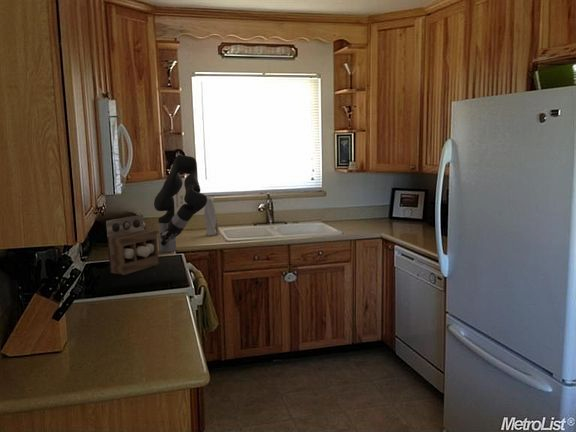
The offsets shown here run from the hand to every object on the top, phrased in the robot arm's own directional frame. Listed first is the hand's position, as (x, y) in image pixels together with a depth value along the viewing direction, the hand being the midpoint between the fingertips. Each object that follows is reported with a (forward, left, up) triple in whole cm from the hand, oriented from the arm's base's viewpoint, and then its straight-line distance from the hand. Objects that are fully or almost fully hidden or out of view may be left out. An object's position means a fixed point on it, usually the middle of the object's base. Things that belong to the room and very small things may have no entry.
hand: (162, 244), depth 251 cm
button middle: (-8, -7, -5) cm, 12 cm away
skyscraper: (-40, +84, -12) cm, 94 cm away
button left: (-12, -14, -5) cm, 19 cm away
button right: (-12, -1, -5) cm, 13 cm away
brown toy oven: (-13, -7, -12) cm, 19 cm away
